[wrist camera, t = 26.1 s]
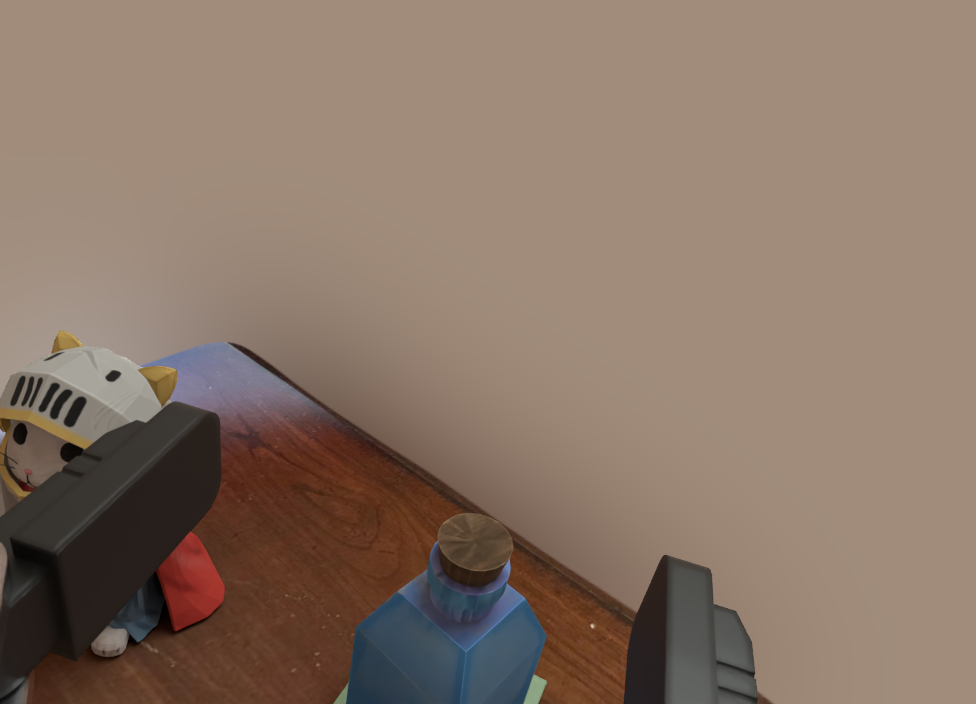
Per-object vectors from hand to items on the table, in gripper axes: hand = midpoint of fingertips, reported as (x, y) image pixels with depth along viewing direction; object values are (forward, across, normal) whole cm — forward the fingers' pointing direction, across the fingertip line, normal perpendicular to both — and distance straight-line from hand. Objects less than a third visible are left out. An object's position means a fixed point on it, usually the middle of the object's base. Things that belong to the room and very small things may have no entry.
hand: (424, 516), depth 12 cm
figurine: (+13, +19, +25) cm, 34 cm away
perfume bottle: (+12, 0, +25) cm, 28 cm away
